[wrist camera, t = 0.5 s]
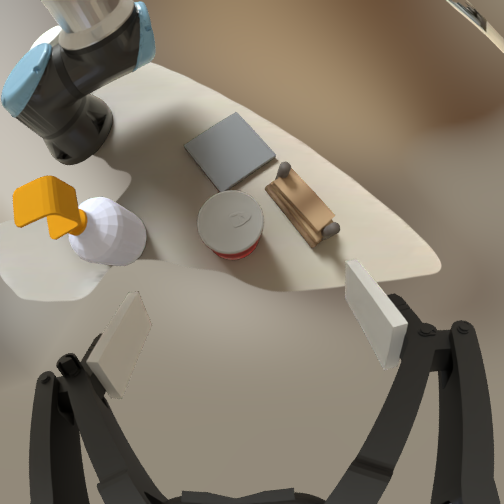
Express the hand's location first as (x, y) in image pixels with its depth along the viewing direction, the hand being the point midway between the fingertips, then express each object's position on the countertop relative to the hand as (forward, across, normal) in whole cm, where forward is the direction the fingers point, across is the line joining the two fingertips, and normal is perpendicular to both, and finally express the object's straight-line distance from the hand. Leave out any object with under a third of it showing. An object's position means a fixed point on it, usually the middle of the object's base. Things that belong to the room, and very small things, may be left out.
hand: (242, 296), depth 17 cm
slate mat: (+33, -1, +8) cm, 34 cm away
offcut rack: (+28, +9, -3) cm, 30 cm away
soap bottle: (+26, -21, -2) cm, 34 cm away
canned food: (+26, -2, -5) cm, 27 cm away
